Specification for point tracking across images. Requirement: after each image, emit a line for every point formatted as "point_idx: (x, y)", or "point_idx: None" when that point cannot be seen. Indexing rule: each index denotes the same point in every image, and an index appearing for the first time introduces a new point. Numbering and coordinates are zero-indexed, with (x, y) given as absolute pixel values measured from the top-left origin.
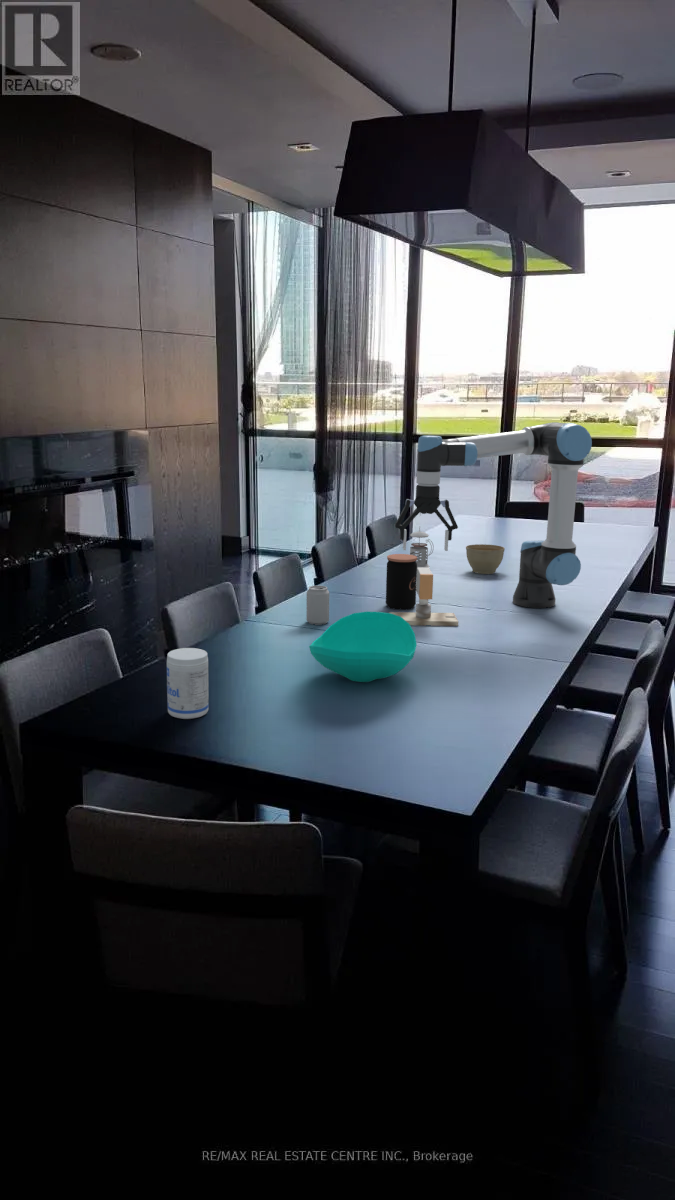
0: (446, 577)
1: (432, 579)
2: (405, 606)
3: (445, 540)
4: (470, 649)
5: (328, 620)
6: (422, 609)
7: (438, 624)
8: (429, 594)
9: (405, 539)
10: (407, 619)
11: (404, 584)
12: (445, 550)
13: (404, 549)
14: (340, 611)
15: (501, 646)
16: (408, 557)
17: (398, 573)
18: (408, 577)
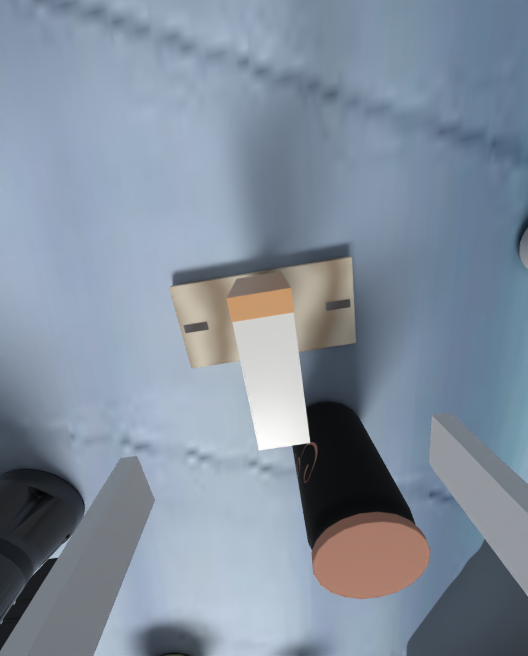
0: (239, 627)
1: (231, 293)
2: (314, 405)
3: (103, 555)
4: (98, 10)
5: (524, 236)
6: None
7: (223, 277)
8: (245, 280)
9: (514, 489)
10: (307, 279)
11: (333, 445)
12: (134, 458)
13: (446, 417)
14: (469, 359)
15: (13, 76)
16: (347, 557)
17: (365, 472)
18: (327, 467)
